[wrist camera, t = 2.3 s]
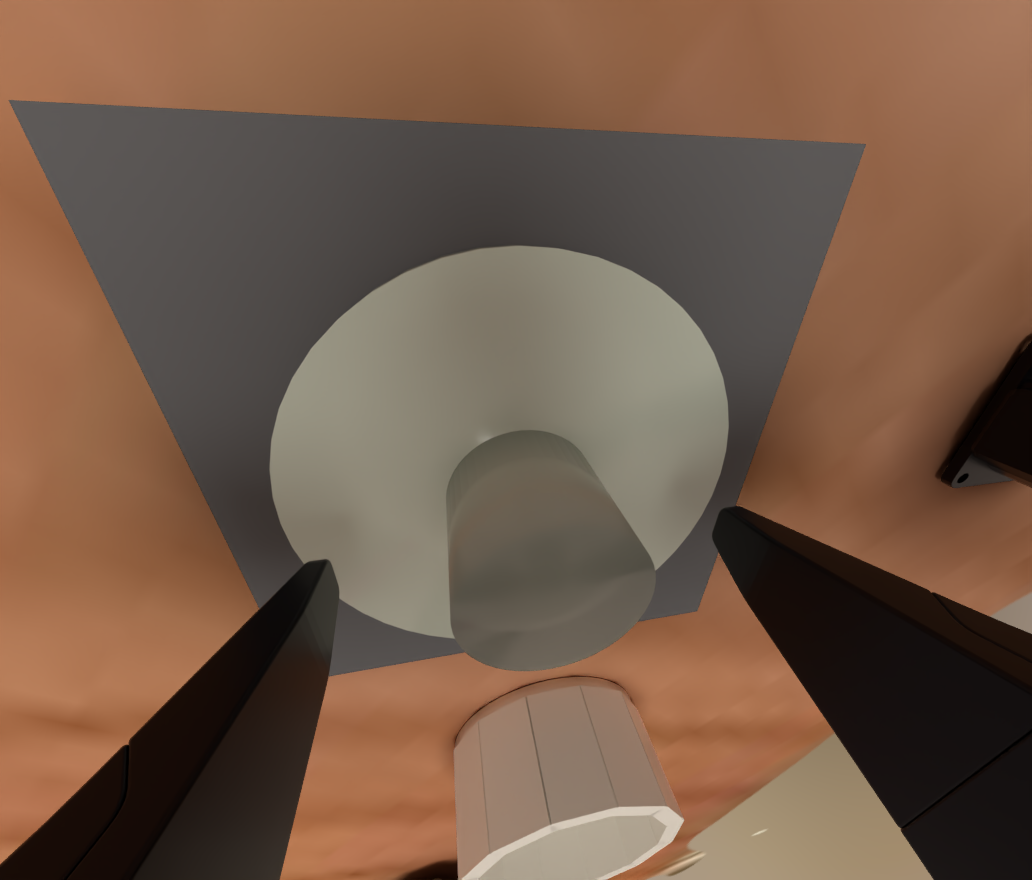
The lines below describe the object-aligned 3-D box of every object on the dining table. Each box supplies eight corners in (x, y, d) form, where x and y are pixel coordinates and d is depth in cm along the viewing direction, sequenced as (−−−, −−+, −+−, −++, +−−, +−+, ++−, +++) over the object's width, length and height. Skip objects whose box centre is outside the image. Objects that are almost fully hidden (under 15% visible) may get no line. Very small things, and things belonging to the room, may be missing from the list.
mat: (826, 152, 9) (866, 144, 8) (683, 592, 17) (697, 611, 16) (63, 117, 7) (8, 100, 6) (304, 655, 14) (295, 682, 14)
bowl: (644, 661, 19) (704, 784, 15) (618, 753, 24) (657, 866, 20) (447, 700, 18) (450, 850, 13) (461, 790, 23) (467, 922, 18)
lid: (758, 243, 9) (997, 251, 5) (664, 585, 15) (744, 710, 11) (203, 246, 7) (-68, 264, 3) (343, 638, 13) (304, 810, 9)
